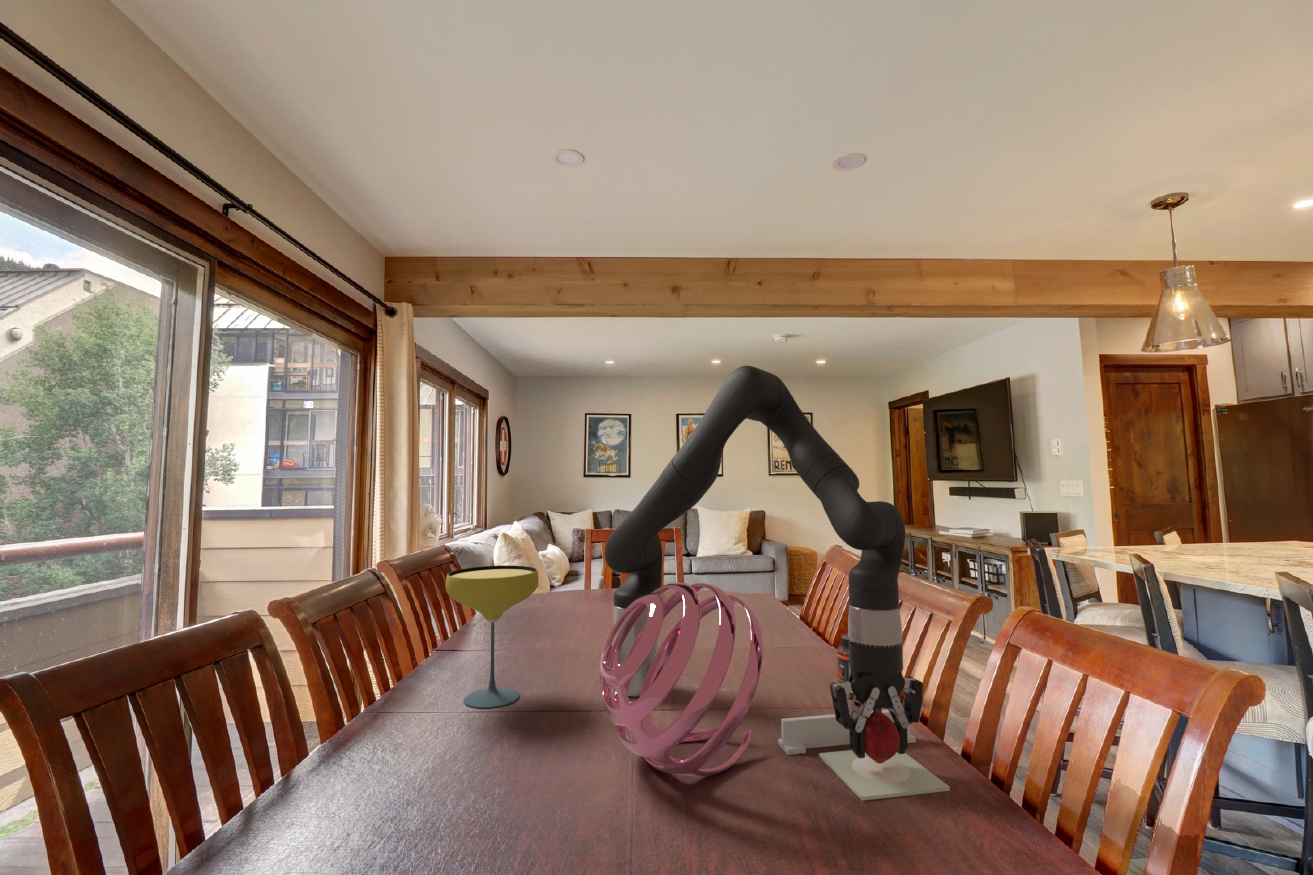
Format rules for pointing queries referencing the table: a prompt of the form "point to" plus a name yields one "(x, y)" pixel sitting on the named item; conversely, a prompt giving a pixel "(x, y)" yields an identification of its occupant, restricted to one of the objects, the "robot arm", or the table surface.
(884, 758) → the onion
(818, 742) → the low fence
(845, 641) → the supplement bottle
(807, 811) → the table surface
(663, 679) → the spiral basket
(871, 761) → the mat
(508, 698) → the cocktail glass
